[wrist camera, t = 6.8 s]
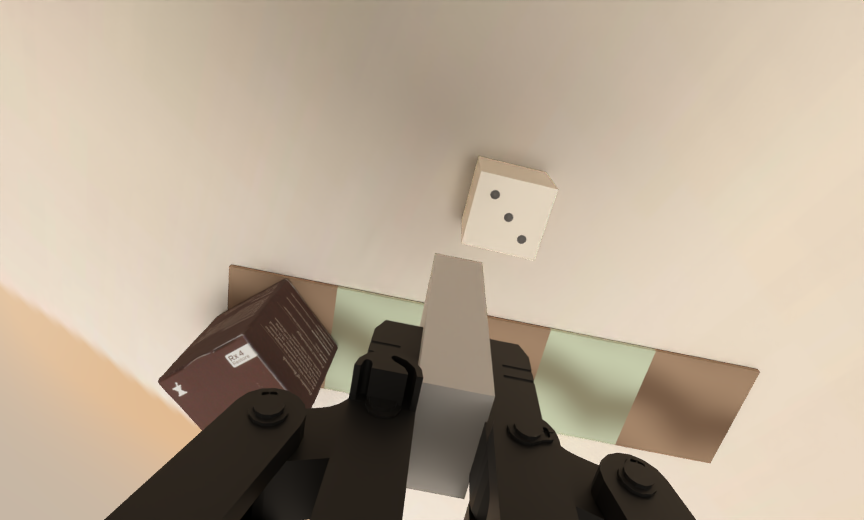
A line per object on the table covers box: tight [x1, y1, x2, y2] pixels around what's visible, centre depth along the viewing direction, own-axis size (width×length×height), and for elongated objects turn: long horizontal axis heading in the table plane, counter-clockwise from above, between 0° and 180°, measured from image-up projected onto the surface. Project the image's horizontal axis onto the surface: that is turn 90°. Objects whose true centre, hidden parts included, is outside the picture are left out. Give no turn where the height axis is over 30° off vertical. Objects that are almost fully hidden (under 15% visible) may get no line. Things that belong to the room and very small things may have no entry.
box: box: [158, 279, 338, 431], centre depth 30 cm, size 6×6×7 cm
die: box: [461, 156, 558, 261], centre depth 27 cm, size 4×4×4 cm
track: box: [228, 265, 760, 463], centre depth 34 cm, size 8×35×1 cm, turn 79°
